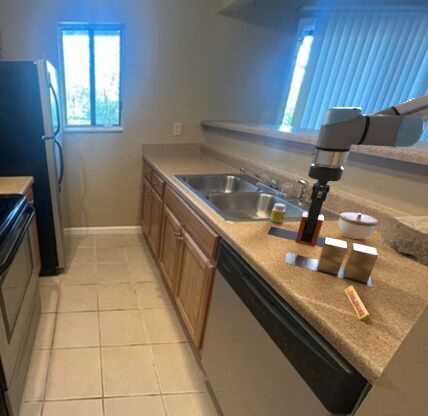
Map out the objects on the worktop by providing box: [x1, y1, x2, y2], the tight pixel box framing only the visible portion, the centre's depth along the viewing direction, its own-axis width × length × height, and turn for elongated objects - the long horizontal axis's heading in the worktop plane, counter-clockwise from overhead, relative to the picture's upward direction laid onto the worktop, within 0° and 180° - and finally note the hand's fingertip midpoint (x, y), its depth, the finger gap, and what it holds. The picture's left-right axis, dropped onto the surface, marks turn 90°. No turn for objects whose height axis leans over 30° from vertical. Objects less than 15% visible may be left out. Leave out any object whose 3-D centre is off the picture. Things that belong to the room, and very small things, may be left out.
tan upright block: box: [317, 236, 348, 275], centre depth 83 cm, size 5×5×9 cm
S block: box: [294, 211, 324, 248], centre depth 85 cm, size 5×5×9 cm
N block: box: [344, 242, 379, 283], centre depth 80 cm, size 5×5×9 cm
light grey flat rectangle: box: [284, 252, 373, 288], centre depth 85 cm, size 21×8×1 cm, turn 51°
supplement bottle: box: [269, 202, 286, 226], centre depth 116 cm, size 5×5×8 cm
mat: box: [267, 225, 326, 248], centre depth 105 cm, size 18×9×1 cm, turn 51°
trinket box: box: [337, 212, 379, 240], centre depth 103 cm, size 11×11×9 cm
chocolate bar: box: [344, 284, 374, 324], centre depth 70 cm, size 3×12×2 cm, turn 154°
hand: (306, 237), depth 86 cm, fingers closed on S block, 5 cm apart
